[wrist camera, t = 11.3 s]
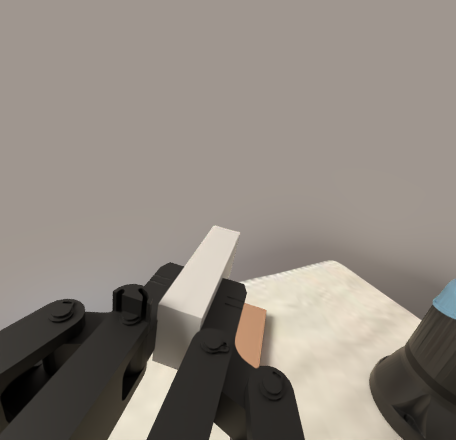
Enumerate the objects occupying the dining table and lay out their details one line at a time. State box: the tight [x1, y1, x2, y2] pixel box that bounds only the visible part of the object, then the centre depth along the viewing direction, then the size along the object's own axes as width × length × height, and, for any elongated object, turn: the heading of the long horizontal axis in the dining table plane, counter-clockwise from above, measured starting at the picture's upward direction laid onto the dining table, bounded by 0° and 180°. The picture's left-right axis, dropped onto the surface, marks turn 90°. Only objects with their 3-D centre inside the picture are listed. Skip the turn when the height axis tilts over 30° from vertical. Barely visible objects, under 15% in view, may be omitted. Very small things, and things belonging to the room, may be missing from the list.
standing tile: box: [235, 303, 266, 368], centre depth 46 cm, size 14×3×14 cm
